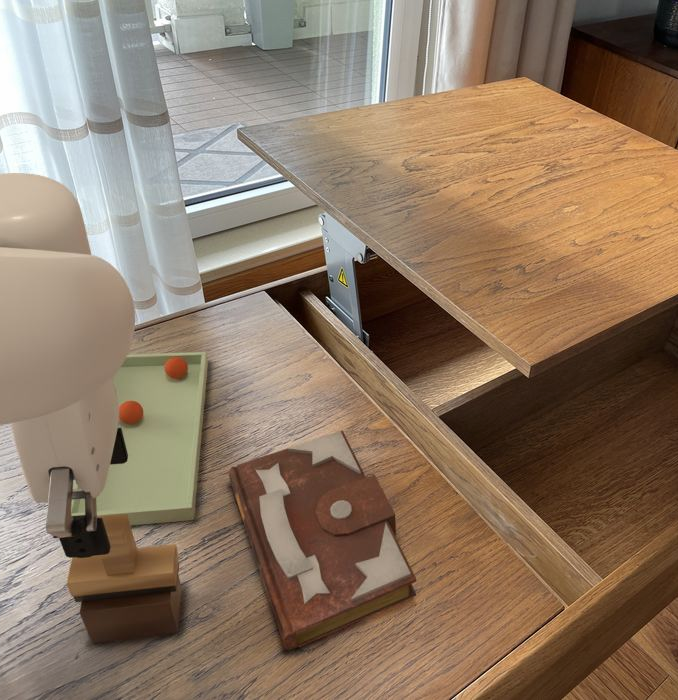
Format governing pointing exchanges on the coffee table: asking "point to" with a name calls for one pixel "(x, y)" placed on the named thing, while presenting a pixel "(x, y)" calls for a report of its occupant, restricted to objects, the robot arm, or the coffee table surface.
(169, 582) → the wooden block
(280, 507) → the book
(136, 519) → the tray
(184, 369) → the orange-red sphere
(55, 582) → the coffee table surface
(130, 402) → the orange ball
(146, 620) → the stand
